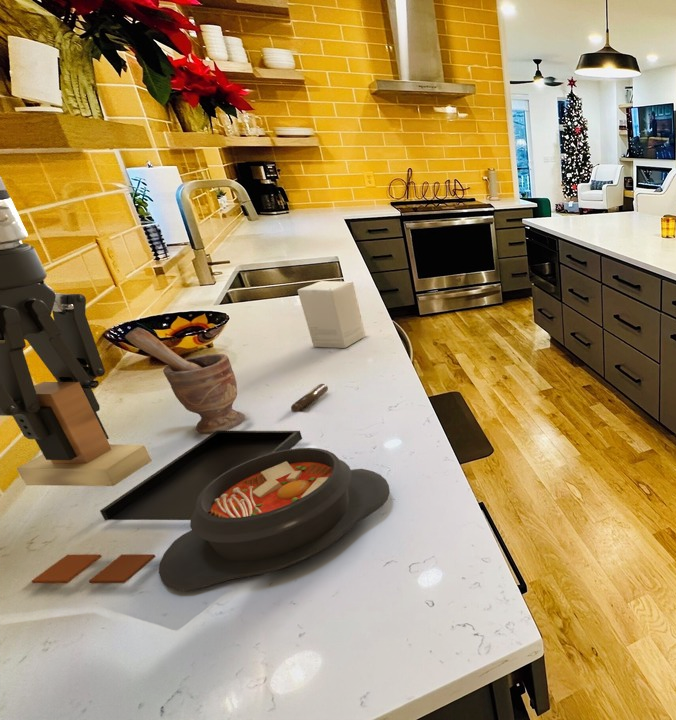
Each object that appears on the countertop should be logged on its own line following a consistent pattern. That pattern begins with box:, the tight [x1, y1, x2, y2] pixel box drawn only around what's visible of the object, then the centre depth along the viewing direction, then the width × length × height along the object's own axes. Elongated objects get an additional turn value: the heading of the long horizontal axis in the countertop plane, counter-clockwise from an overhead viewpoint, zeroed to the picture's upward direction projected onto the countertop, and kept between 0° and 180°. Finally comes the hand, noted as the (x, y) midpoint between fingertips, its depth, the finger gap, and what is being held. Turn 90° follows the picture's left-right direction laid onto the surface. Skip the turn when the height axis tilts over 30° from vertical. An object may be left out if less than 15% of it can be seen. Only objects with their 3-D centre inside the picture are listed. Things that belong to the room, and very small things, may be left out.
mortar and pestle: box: [124, 326, 246, 435], centre depth 85 cm, size 12×9×20 cm
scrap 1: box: [30, 553, 102, 584], centre depth 59 cm, size 4×4×2 cm
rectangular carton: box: [296, 280, 367, 349], centre depth 126 cm, size 9×9×15 cm
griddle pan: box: [99, 383, 329, 521], centre depth 84 cm, size 14×39×3 cm, turn 0°
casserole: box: [158, 447, 390, 591], centre depth 64 cm, size 25×19×8 cm
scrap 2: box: [88, 553, 156, 584], centre depth 59 cm, size 4×4×2 cm
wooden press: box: [15, 381, 152, 487], centre depth 57 cm, size 10×5×11 cm, turn 90°
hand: (78, 448), depth 58 cm, fingers closed on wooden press, 3 cm apart
